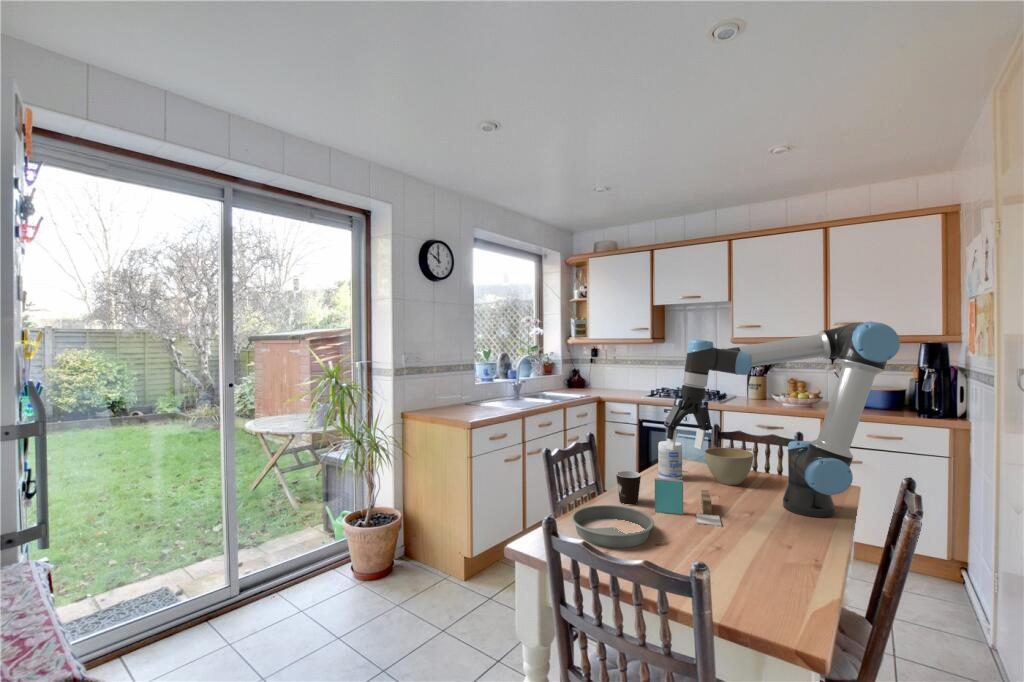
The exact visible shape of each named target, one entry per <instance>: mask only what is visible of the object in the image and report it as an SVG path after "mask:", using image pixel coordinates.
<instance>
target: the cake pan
mask: <svg viewBox="0 0 1024 682" xmlns="http://www.w3.org/2000/svg"><path fill="white" fill-rule="evenodd" d="M570 518H571V521H572V523H573V525H575V530H576V533H577V534H578V536H579V538H580V539H583V540H584V541H586V542H588V543H590V544H592V545H593V544H594V545H597V546H600V547H607V548H630V547H634V546H635V545H636V546H638V545H641V544H643V543H645V542H646V541H647V540H648V539H649V535H650V531H651V530H652V529H653V527H654V526H655V521H654V519H653V518H652V517H651V515H649V514H648V513H646V512H644V511H641V510H639V509H635V508H633V507H628V506H623V505H616V504H615V505H613V504H612V505H611V504H598V505H596V504H595V505H590V506H584V507H582V508H579V509H577V510H575V511H574V512H573V513H572V514H571V517H570ZM613 519H617V520H616V521H621V520H625V521H624V522H626V521H629V522H628V523H630V522H632V523H635V524H638V525H640V526H641V527H642V528H644V529H645V530H643V531H640V532H635V533H628V534H625V533H623V532H621V531H619V530H618V529H617V528H615V527H616V526H613V527H614V528H615V529H614V528H613V527H598V528H597V527H595V528H593V527H585V526H582V525H583V524H585V523H588V522H592V521H599V520H600V521H601V520H613ZM620 530H621V529H620ZM618 531H619V532H618ZM647 538H648V539H647Z"/></svg>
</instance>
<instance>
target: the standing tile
mask: <svg viewBox="0 0 1024 682" xmlns="http://www.w3.org/2000/svg"><path fill="white" fill-rule="evenodd" d="M654 512H655V513H659V512H664V513H663V514H669V513H675V514H674V515H679V514H683V515H684V480H683V479H681V480H674V479H662V478H660V477H658V478H657V477H654Z"/></svg>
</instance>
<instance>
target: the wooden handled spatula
mask: <svg viewBox="0 0 1024 682" xmlns="http://www.w3.org/2000/svg"><path fill="white" fill-rule="evenodd" d="M700 499H701V500H700V505H701V504H702V505H701V510H703V511H702V513H695V518H696V517H697V518H696V524H697V523H698V524H697V525H700V524H708V525H707V526H710V525H717V526H716V527H719V526H721V527H722V522H721V518H720V515H714V514H712V498H711V494H710V491H709V490H708V489H701V490H700Z"/></svg>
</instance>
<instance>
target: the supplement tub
mask: <svg viewBox="0 0 1024 682" xmlns="http://www.w3.org/2000/svg"><path fill="white" fill-rule="evenodd" d="M666 445H667V440H661V441H659V442H658V445H657V447H658V449H657V451H658V455H657V457H658V458H657V460H658V462H657V463H658V467H657V468H658V469H657V471H658V473H657V475H658V478H662V479H674V480H683V447H682V446H683V444H682V443H681V442H678V441H675V447H674V450H671V449H668V448H666Z"/></svg>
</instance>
